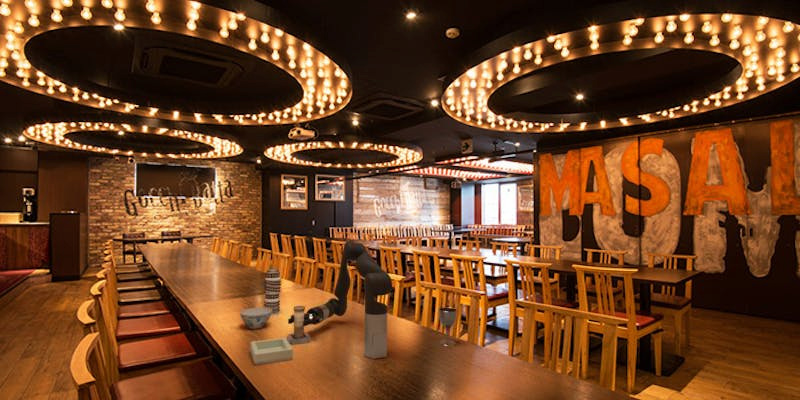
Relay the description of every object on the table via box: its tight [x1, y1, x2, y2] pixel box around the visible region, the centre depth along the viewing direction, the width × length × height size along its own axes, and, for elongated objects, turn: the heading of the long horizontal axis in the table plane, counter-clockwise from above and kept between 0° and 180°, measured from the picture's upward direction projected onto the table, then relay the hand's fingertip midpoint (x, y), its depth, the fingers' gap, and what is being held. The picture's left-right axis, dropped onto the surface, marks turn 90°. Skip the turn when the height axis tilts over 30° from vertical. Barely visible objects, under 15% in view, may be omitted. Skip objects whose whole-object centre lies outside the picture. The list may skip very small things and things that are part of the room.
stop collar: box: [286, 331, 311, 346], centre depth 179 cm, size 9×9×2 cm
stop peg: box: [293, 305, 306, 339], centre depth 179 cm, size 5×5×15 cm
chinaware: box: [239, 307, 272, 330], centre depth 199 cm, size 15×15×8 cm
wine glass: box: [438, 306, 458, 347], centre depth 178 cm, size 8×8×15 cm
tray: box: [250, 337, 294, 366], centre depth 160 cm, size 16×14×4 cm
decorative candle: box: [263, 268, 282, 317], centre depth 225 cm, size 9×9×25 cm
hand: (296, 322), depth 177 cm, fingers open, 8 cm apart
